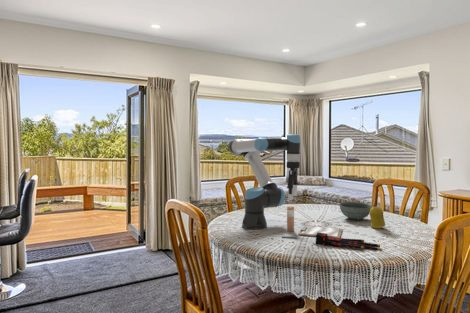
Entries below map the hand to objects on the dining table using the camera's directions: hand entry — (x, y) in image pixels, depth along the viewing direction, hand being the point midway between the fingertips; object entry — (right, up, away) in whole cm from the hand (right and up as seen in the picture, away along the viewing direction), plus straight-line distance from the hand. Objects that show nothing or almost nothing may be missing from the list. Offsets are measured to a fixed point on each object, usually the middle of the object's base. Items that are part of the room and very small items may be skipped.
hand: (292, 197), depth 198 cm
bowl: (+47, -18, +29) cm, 58 cm away
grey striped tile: (-4, -20, -11) cm, 23 cm away
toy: (+22, -21, -29) cm, 42 cm away
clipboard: (+15, -19, -4) cm, 25 cm away
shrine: (+51, -19, +5) cm, 55 cm away
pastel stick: (-1, -19, 0) cm, 19 cm away
